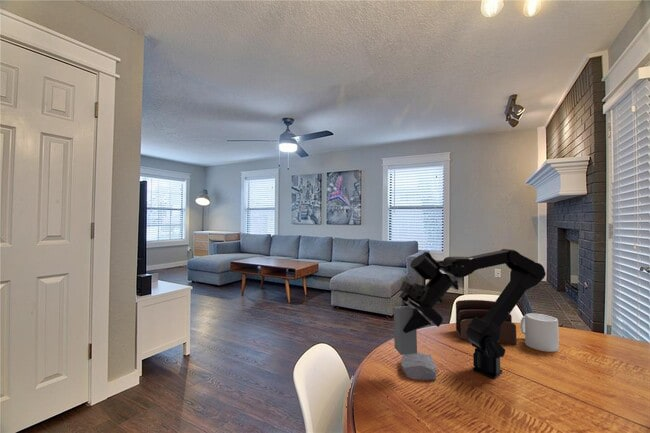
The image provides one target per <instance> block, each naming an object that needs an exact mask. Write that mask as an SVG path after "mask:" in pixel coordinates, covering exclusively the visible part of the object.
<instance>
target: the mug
mask: <svg viewBox="0 0 650 433" xmlns="http://www.w3.org/2000/svg"><path fill="white" fill-rule="evenodd" d="M520 329H521V330H520V331H521V333H522V335H524V344H525V345H526V346H527V347H528V348H531V349H534V350H538V351H540V352H541V351H542V352H548V353H549V352H550V353H554V352H555V353H556V352H558V351H559V350H560V342H559V341H560V340H559V337H560V336H559V319H558V318H556V317H554V316H550V315H547V314H542V313H534V312H533V313H525V314H524V315H523V316H522V317H521V319H520Z"/></svg>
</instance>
